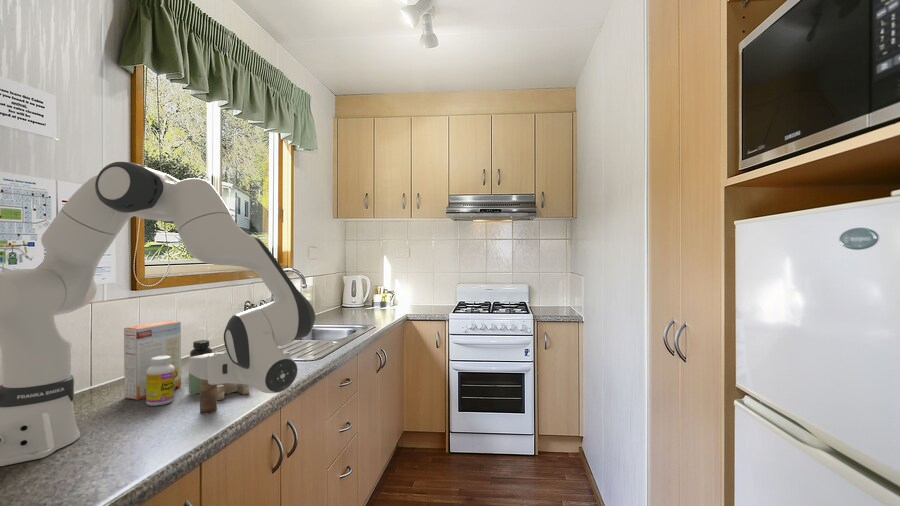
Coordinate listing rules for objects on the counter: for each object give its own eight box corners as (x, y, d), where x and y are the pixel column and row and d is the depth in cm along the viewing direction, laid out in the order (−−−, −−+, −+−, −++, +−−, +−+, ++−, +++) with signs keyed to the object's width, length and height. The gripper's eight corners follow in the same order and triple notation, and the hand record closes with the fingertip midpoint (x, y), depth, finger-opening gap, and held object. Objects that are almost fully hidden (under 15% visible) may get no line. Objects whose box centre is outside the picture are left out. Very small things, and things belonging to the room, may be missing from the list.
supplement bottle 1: (160, 407, 118) (160, 360, 118) (140, 405, 119) (140, 359, 120) (180, 399, 125) (180, 355, 125) (160, 397, 126) (161, 354, 126)
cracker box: (168, 384, 139) (168, 320, 139) (181, 386, 137) (182, 321, 137) (122, 398, 125) (123, 326, 125) (136, 400, 123) (137, 328, 123)
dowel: (202, 415, 113) (203, 369, 113) (197, 411, 116) (198, 366, 116) (219, 411, 116) (219, 366, 116) (213, 407, 119) (214, 363, 119)
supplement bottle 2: (187, 375, 149) (187, 341, 149) (209, 371, 154) (209, 338, 154) (192, 379, 144) (192, 344, 144) (214, 376, 149) (214, 341, 149)
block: (217, 400, 123) (217, 376, 123) (208, 394, 128) (209, 371, 128) (249, 393, 130) (249, 370, 130) (240, 388, 135) (240, 365, 135)
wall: (190, 394, 129) (191, 358, 129) (188, 393, 130) (189, 357, 130) (245, 383, 140) (245, 349, 140) (243, 382, 142) (243, 348, 142)
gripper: (292, 342, 106) (267, 335, 115) (201, 357, 91) (181, 347, 100) (293, 367, 106) (268, 358, 115) (201, 386, 91) (181, 374, 100)
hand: (226, 353), depth 108 cm, fingers open, 8 cm apart
